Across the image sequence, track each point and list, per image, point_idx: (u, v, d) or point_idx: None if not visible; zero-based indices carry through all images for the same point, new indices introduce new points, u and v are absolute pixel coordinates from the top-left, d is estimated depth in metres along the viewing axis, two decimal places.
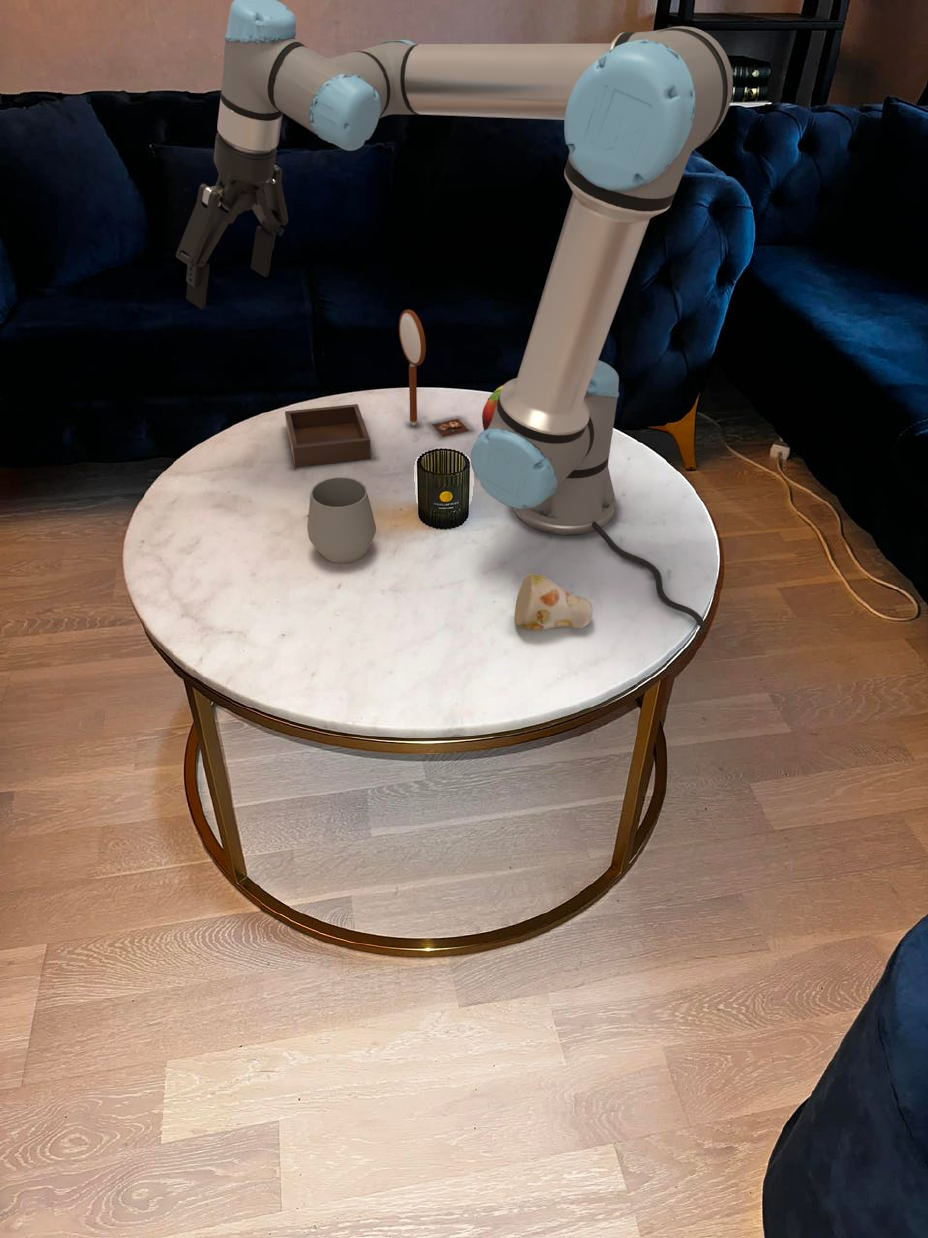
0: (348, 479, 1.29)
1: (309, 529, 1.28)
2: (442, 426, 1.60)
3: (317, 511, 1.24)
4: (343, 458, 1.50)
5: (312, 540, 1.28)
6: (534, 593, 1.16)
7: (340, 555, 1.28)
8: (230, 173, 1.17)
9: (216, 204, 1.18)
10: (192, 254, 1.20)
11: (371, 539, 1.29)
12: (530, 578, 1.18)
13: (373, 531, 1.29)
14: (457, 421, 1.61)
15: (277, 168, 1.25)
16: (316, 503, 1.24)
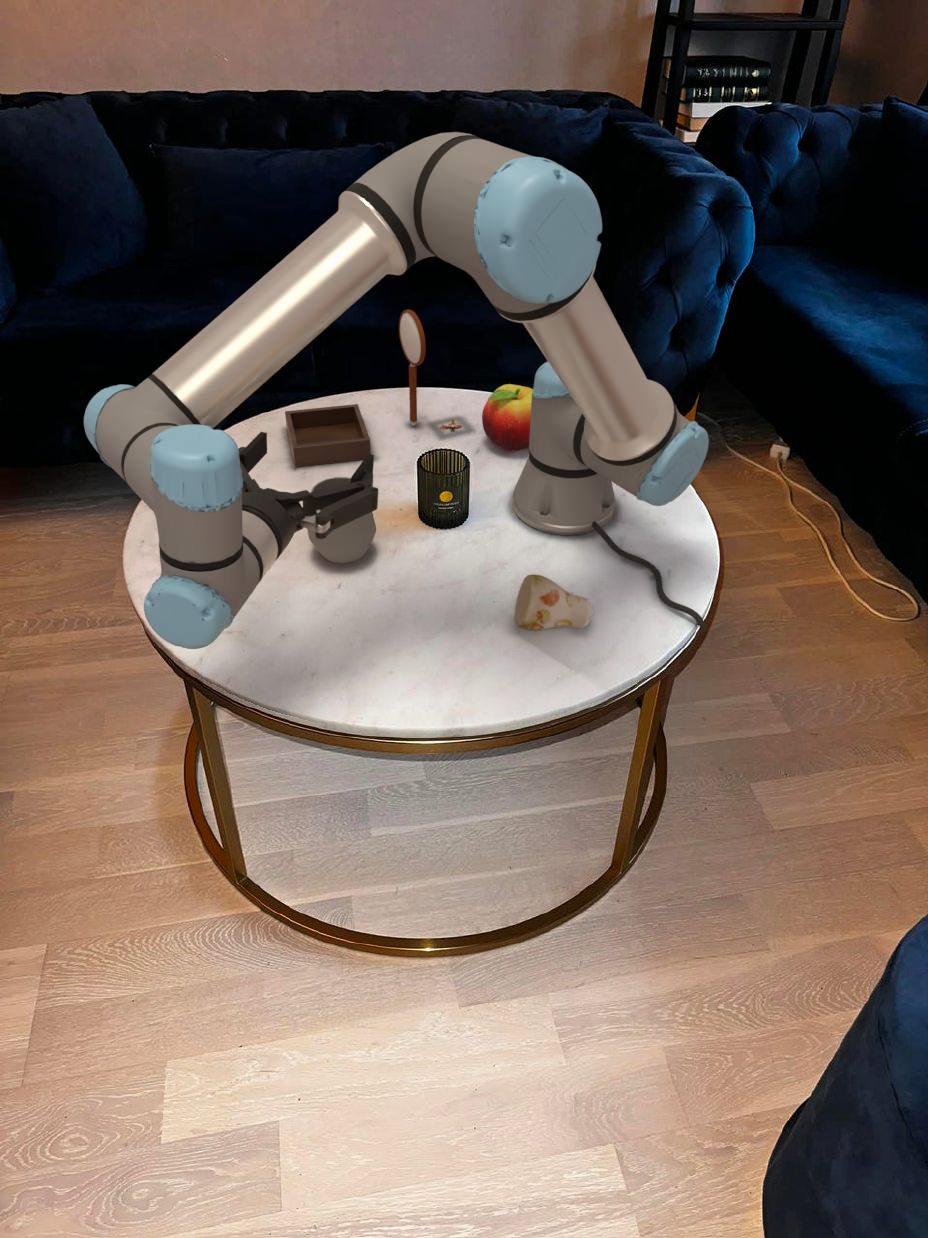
0: (348, 479, 1.29)
1: (309, 529, 1.28)
2: (442, 426, 1.60)
3: None
4: (343, 458, 1.50)
5: (312, 540, 1.28)
6: (534, 593, 1.16)
7: (340, 555, 1.28)
8: (290, 525, 0.99)
9: (323, 512, 1.01)
10: (371, 495, 1.05)
11: (371, 539, 1.29)
12: (530, 578, 1.18)
13: (373, 531, 1.29)
14: None
15: None
16: None
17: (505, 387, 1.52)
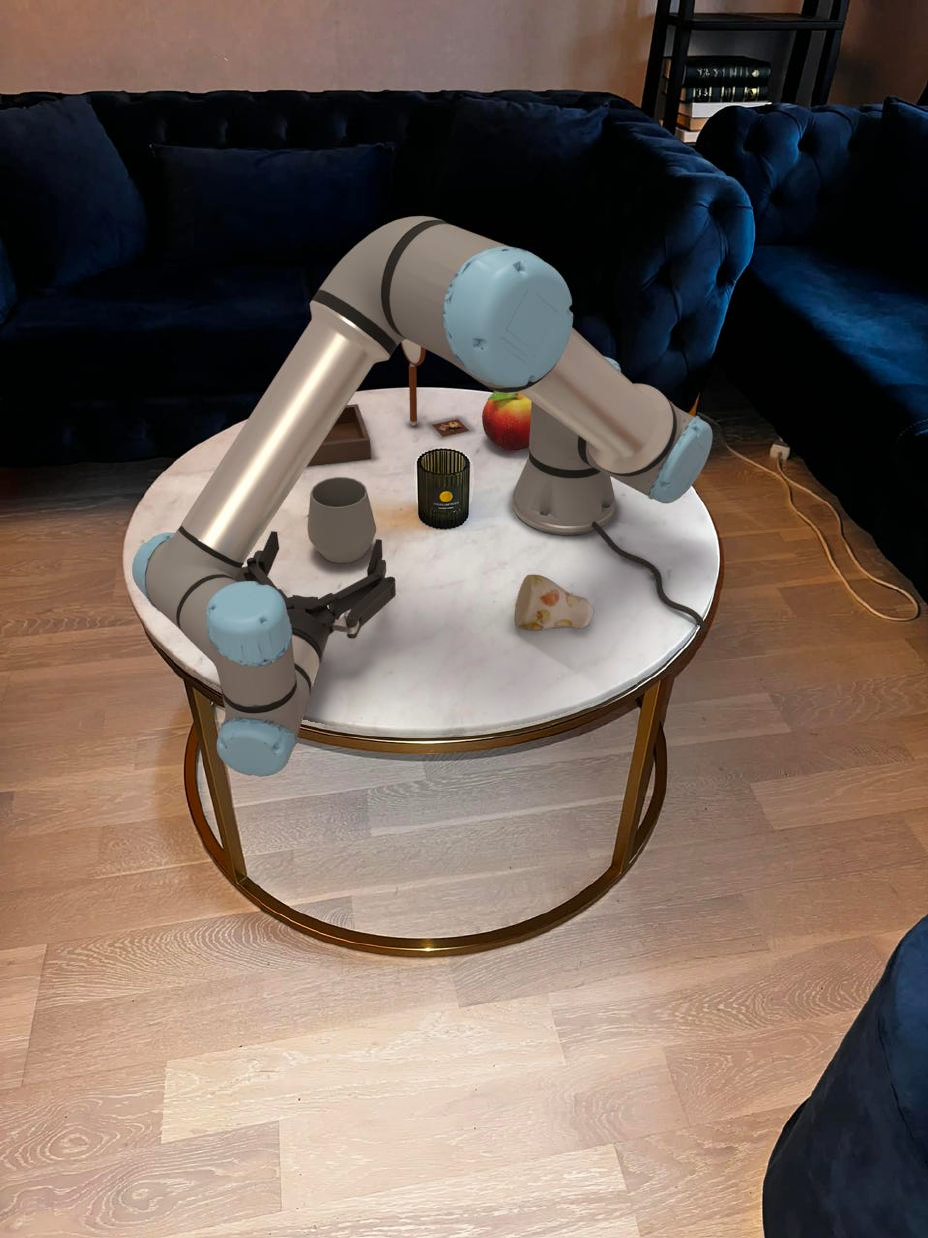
0: (348, 479, 1.29)
1: (309, 529, 1.28)
2: (442, 426, 1.60)
3: (317, 511, 1.24)
4: (343, 458, 1.50)
5: (312, 540, 1.28)
6: (534, 593, 1.16)
7: (340, 555, 1.28)
8: (324, 633, 1.07)
9: (351, 614, 1.09)
10: (389, 586, 1.13)
11: (371, 539, 1.29)
12: (530, 578, 1.18)
13: (373, 531, 1.29)
14: (457, 421, 1.61)
15: None
16: (316, 503, 1.24)
17: None
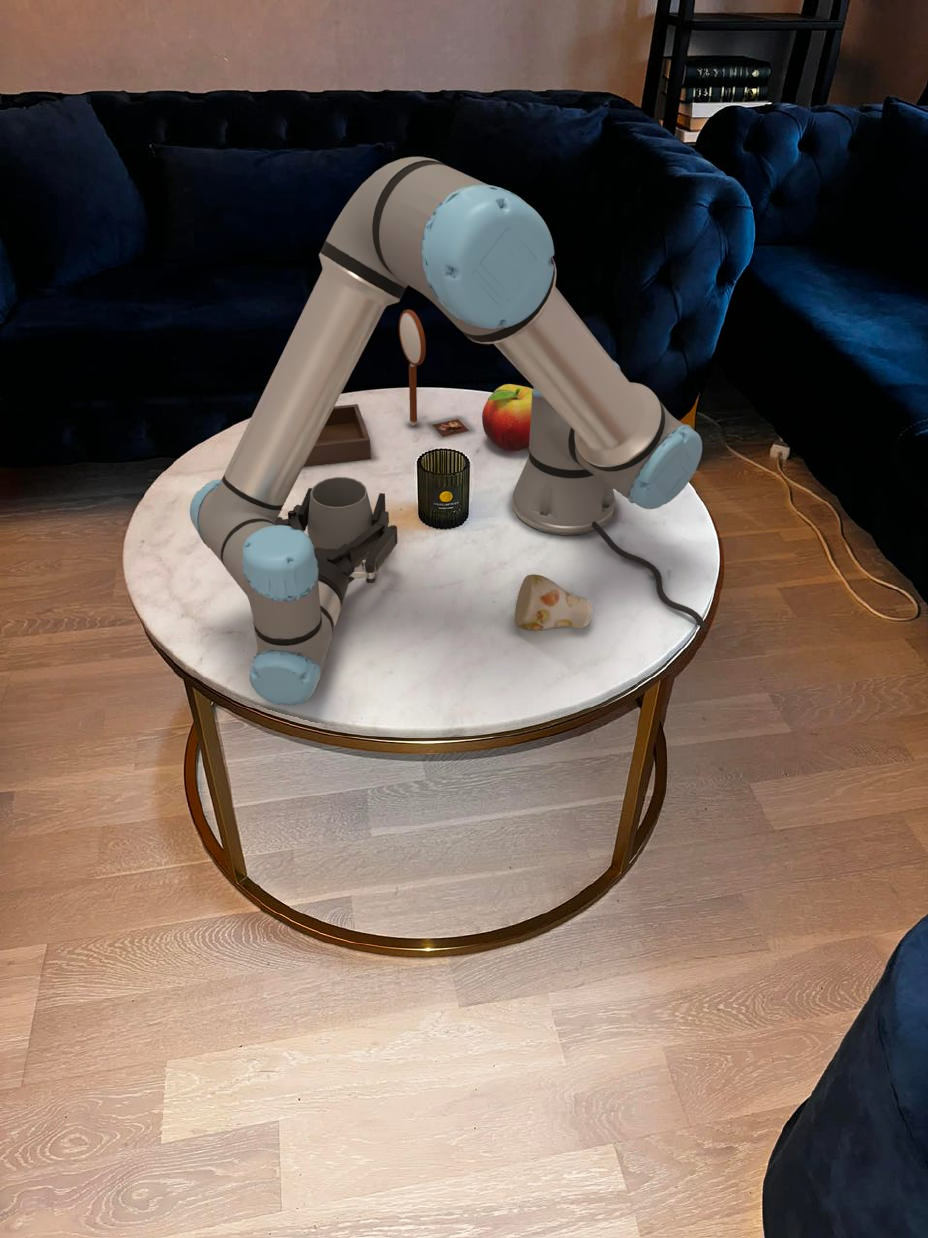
0: (348, 479, 1.29)
1: (309, 529, 1.28)
2: (442, 426, 1.60)
3: (317, 511, 1.24)
4: (343, 458, 1.50)
5: (312, 540, 1.28)
6: (534, 593, 1.16)
7: None
8: (345, 581, 1.17)
9: (368, 561, 1.19)
10: (394, 533, 1.24)
11: None
12: (530, 578, 1.18)
13: None
14: (457, 421, 1.61)
15: None
16: (316, 503, 1.24)
17: (505, 387, 1.52)
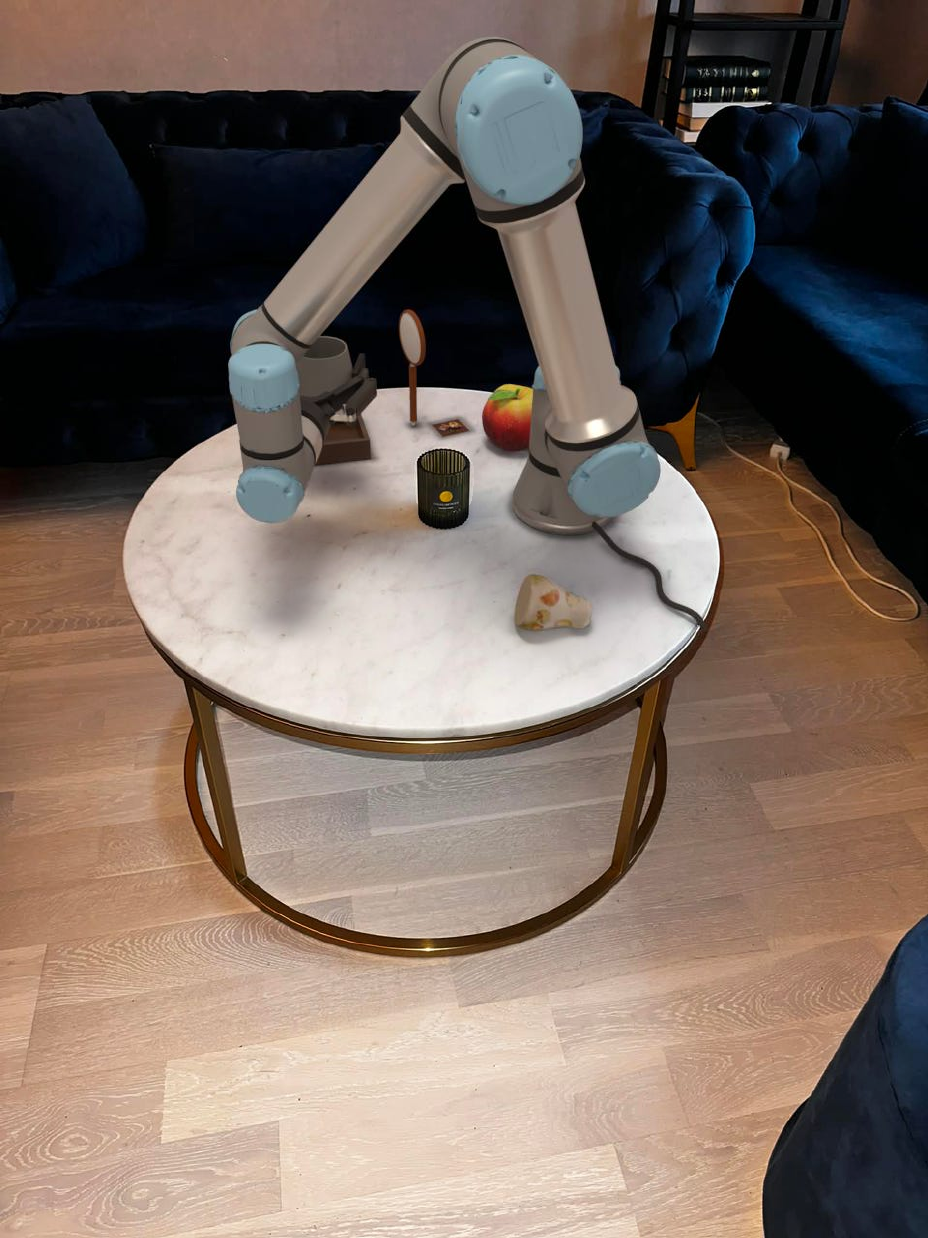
0: (329, 338, 1.35)
1: None
2: (442, 426, 1.60)
3: (300, 364, 1.31)
4: (343, 458, 1.50)
5: None
6: (534, 593, 1.16)
7: None
8: (326, 420, 1.23)
9: (349, 405, 1.25)
10: (373, 384, 1.30)
11: None
12: (530, 578, 1.18)
13: None
14: (457, 421, 1.61)
15: None
16: None
17: (505, 387, 1.52)
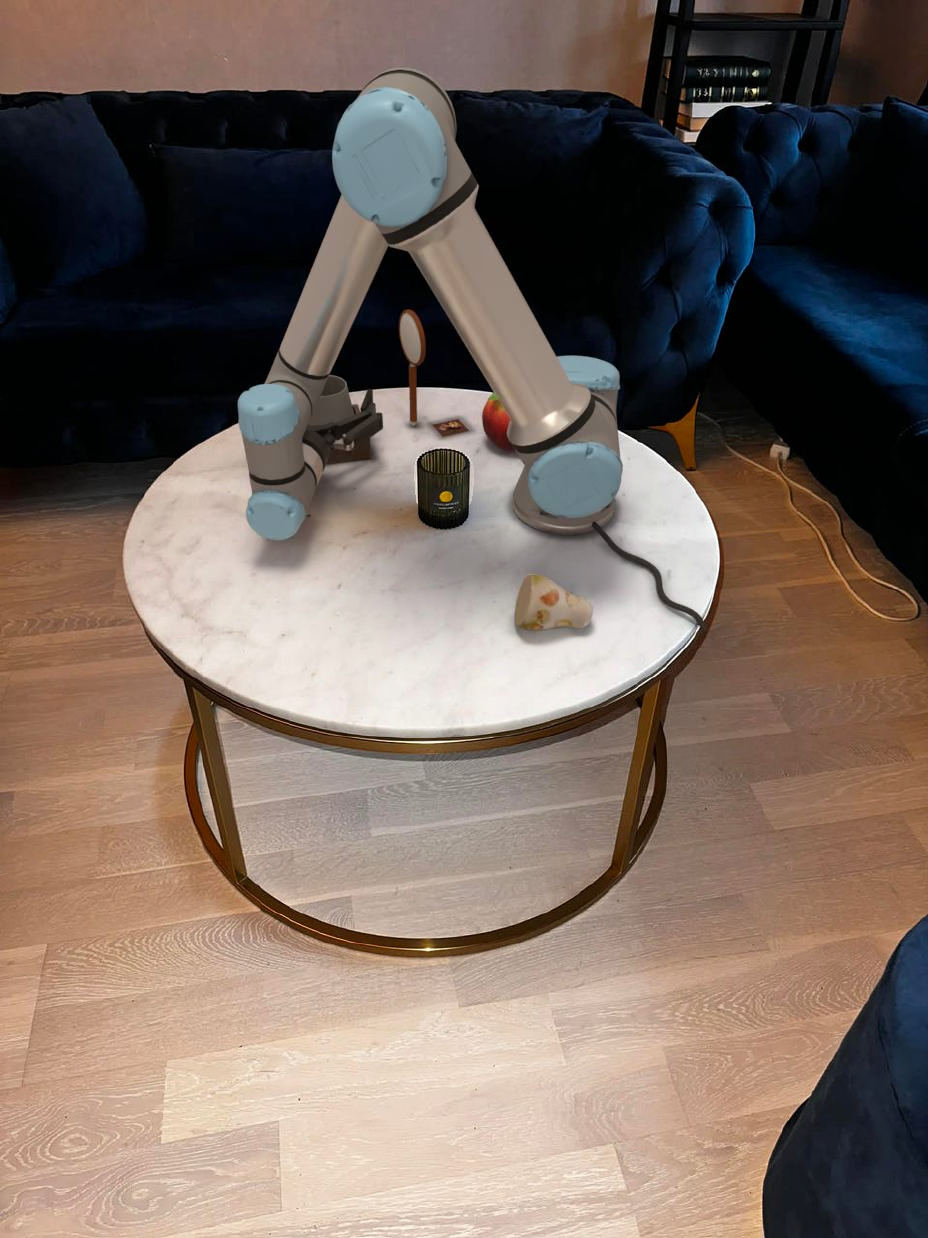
0: (331, 376, 1.51)
1: None
2: (442, 426, 1.60)
3: None
4: (343, 458, 1.50)
5: None
6: (534, 593, 1.16)
7: None
8: (327, 447, 1.38)
9: (347, 435, 1.40)
10: (378, 418, 1.44)
11: None
12: (530, 578, 1.18)
13: None
14: (457, 421, 1.61)
15: None
16: None
17: None
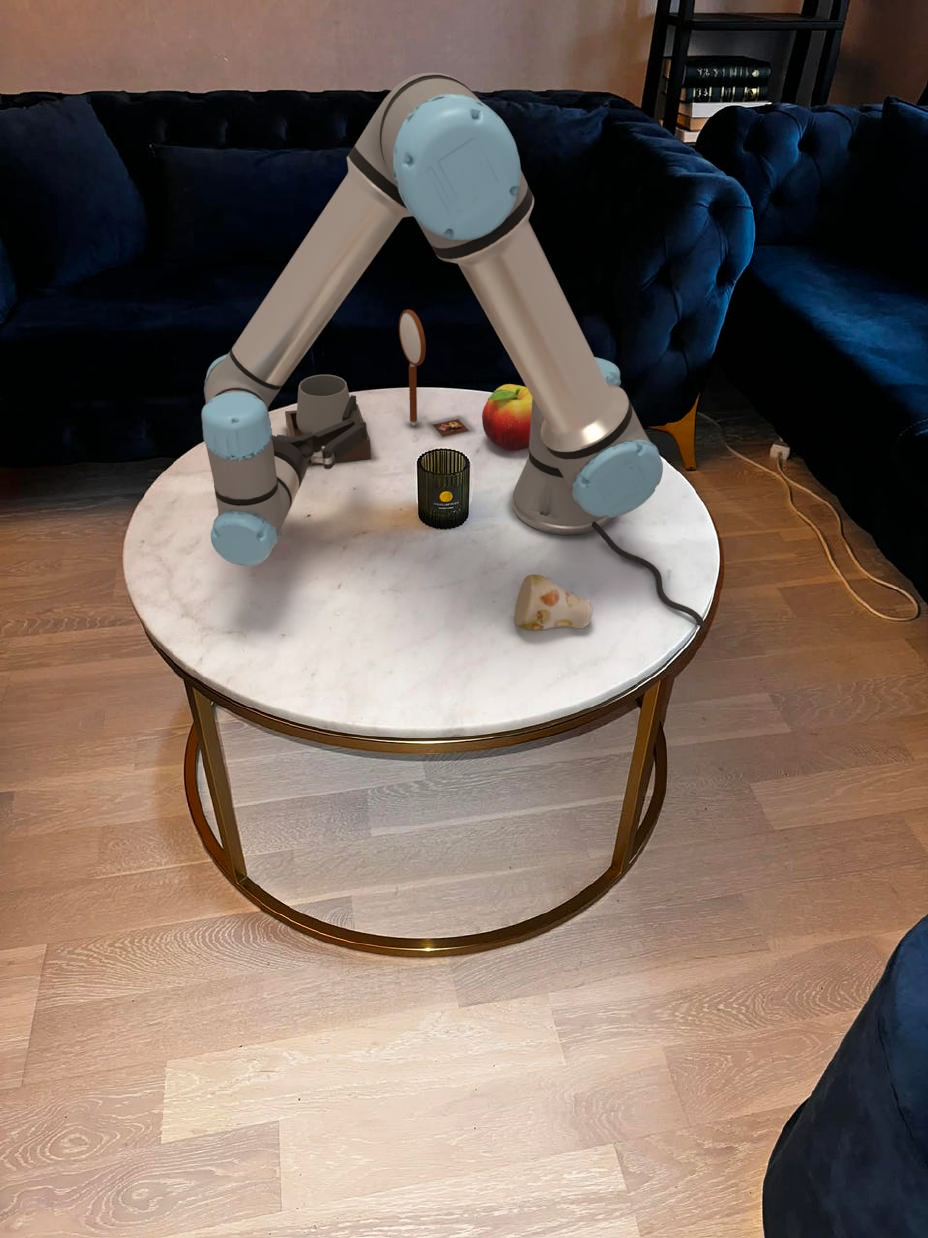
0: (331, 376, 1.51)
1: (298, 418, 1.50)
2: (442, 426, 1.60)
3: (304, 400, 1.46)
4: (343, 458, 1.50)
5: (300, 428, 1.50)
6: (534, 593, 1.16)
7: None
8: (304, 461, 1.25)
9: (327, 447, 1.27)
10: (361, 428, 1.31)
11: None
12: (530, 578, 1.18)
13: None
14: (457, 421, 1.61)
15: None
16: (303, 393, 1.46)
17: (505, 387, 1.52)
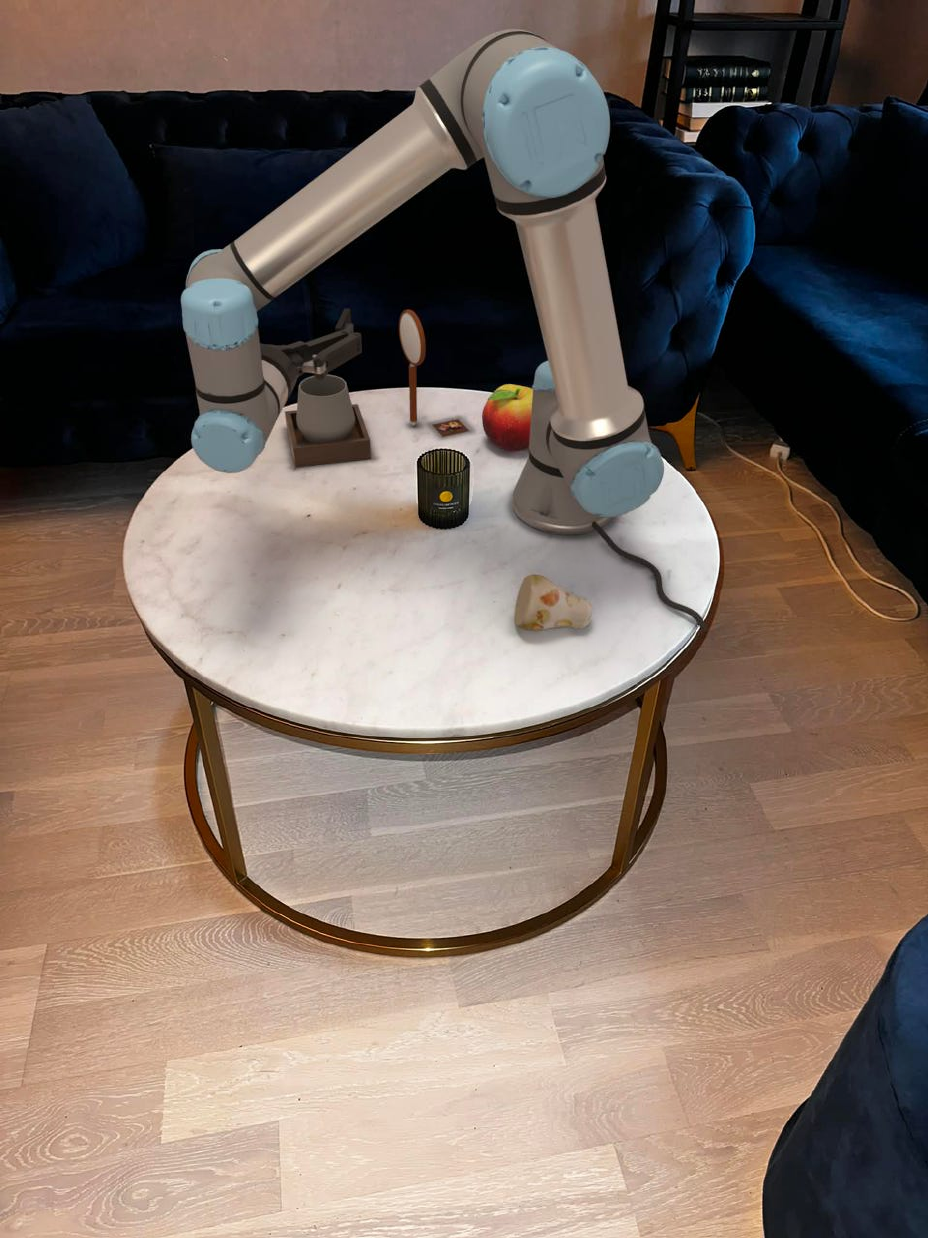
0: (331, 376, 1.51)
1: (298, 418, 1.50)
2: (442, 426, 1.60)
3: (304, 400, 1.46)
4: (343, 458, 1.50)
5: (300, 428, 1.50)
6: (534, 593, 1.16)
7: (324, 440, 1.50)
8: (293, 369, 1.16)
9: (318, 356, 1.18)
10: (355, 339, 1.23)
11: (351, 427, 1.51)
12: (530, 578, 1.18)
13: (352, 421, 1.51)
14: (457, 421, 1.61)
15: None
16: (303, 393, 1.46)
17: (505, 387, 1.52)
